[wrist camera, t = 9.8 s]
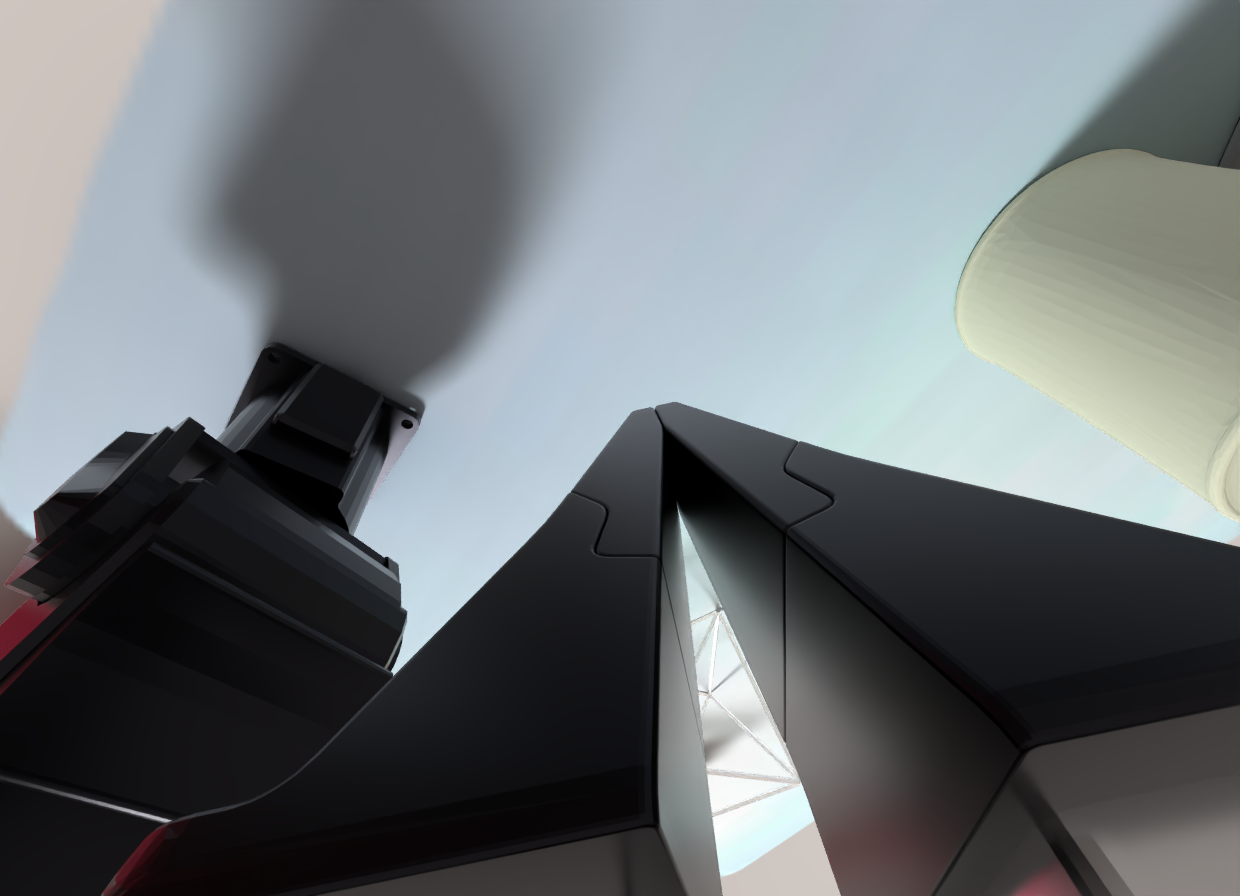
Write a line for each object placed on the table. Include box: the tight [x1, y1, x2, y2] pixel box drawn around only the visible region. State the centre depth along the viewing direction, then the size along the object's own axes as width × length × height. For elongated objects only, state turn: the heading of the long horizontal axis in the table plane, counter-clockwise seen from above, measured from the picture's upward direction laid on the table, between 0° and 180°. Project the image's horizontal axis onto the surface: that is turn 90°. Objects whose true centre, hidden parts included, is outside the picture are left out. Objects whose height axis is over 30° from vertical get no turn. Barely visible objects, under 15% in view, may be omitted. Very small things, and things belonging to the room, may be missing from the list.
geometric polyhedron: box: [691, 611, 801, 817], centre depth 34 cm, size 12×11×9 cm
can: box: [955, 149, 1240, 522], centre depth 18 cm, size 9×9×12 cm
